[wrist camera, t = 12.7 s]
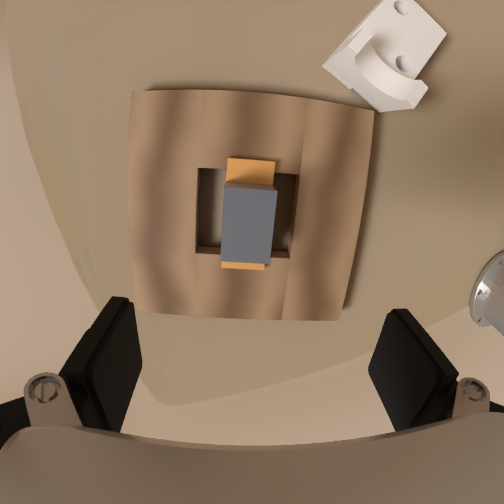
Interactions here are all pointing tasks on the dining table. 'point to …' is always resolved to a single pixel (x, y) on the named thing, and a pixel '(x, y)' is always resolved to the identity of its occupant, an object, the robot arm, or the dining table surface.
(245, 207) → the block
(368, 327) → the dining table surface
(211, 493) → the robot arm
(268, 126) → the plate
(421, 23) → the bracket
